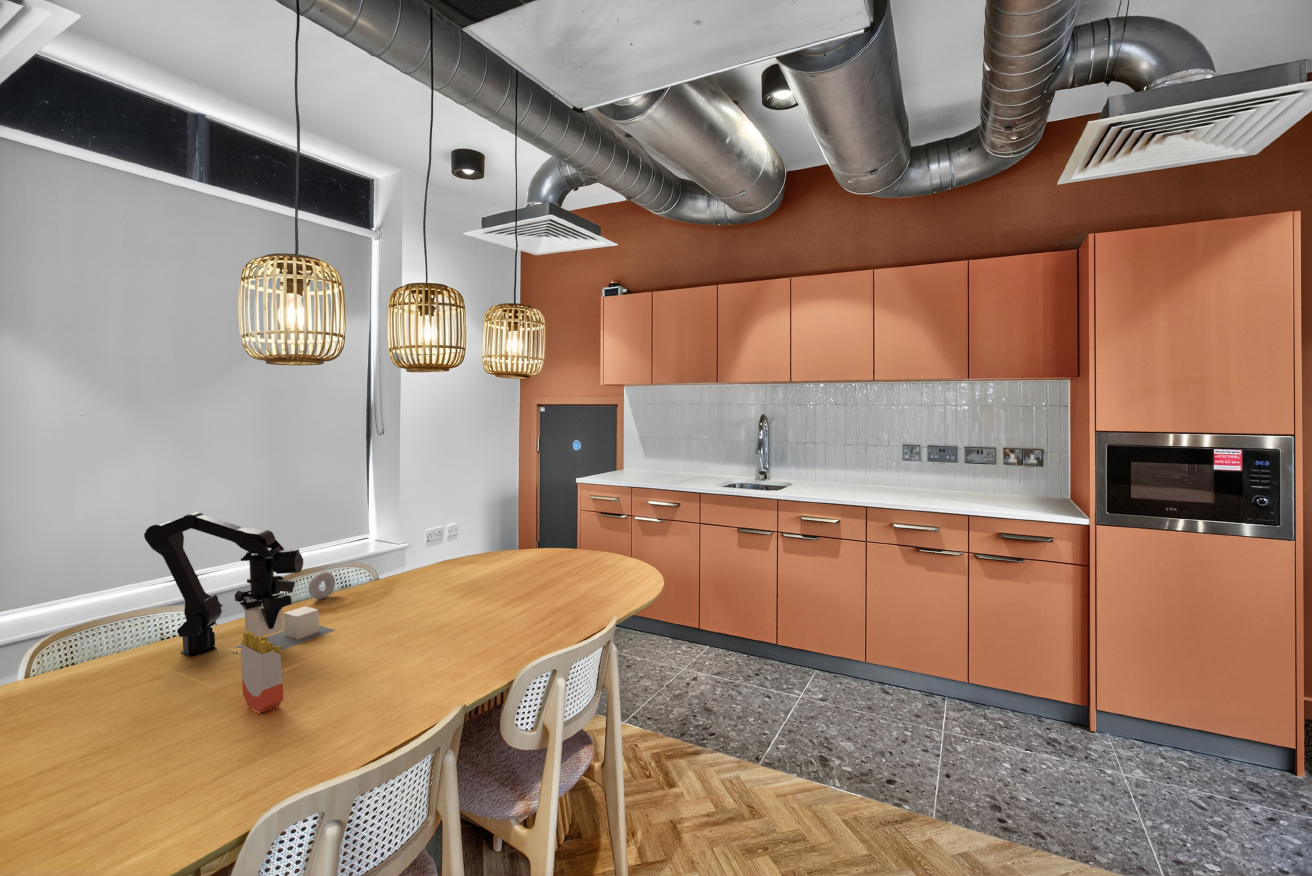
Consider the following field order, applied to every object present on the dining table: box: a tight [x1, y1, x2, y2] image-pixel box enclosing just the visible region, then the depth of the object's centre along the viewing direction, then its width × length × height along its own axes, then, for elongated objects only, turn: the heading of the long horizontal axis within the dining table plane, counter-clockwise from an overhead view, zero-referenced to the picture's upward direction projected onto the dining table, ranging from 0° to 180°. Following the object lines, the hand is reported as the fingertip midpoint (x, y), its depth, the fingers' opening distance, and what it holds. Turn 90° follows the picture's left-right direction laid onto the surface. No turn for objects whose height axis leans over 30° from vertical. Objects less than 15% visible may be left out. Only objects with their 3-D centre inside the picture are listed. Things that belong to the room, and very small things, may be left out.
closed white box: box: [283, 606, 320, 639], centre depth 182 cm, size 7×7×7 cm
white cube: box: [244, 604, 284, 639], centre depth 172 cm, size 7×7×7 cm
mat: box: [234, 624, 336, 655], centre depth 178 cm, size 24×14×1 cm, turn 153°
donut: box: [307, 571, 336, 600], centre depth 215 cm, size 10×4×10 cm, turn 157°
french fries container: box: [240, 631, 284, 714], centre depth 139 cm, size 5×11×18 cm, turn 56°
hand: (264, 626), depth 173 cm, fingers closed on white cube, 7 cm apart
